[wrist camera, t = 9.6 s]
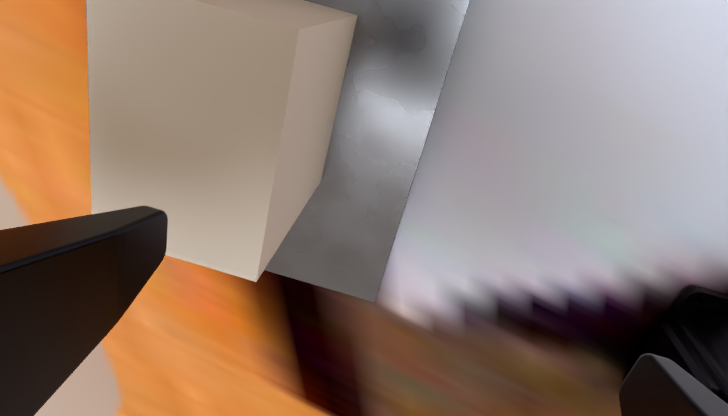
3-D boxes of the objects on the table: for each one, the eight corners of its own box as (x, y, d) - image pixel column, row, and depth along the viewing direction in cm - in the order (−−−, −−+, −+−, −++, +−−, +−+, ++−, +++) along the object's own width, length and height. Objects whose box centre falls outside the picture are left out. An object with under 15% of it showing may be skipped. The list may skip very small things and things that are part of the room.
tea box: (357, 15, 17) (299, 29, 10) (320, 181, 20) (256, 282, 13) (228, -21, 17) (80, -32, 10) (211, 149, 21) (87, 231, 13)
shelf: (573, -332, 13) (609, -423, 10) (376, 292, 23) (367, 334, 21) (135, -440, 14) (54, -556, 11) (127, 219, 24) (84, 250, 21)
